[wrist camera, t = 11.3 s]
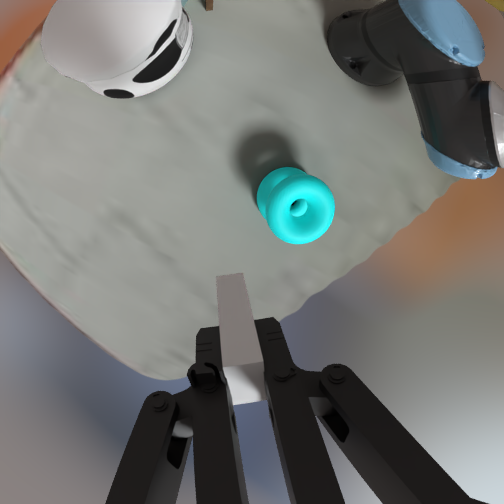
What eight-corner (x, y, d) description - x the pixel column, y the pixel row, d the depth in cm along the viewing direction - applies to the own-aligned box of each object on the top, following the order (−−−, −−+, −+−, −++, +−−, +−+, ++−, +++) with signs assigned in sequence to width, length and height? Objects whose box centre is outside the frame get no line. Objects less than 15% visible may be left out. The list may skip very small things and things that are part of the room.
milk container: (74, 58, 28) (14, 34, 12) (156, -8, 26) (135, -65, 10) (128, 123, 36) (78, 121, 20) (217, 54, 33) (223, 7, 17)
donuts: (278, 168, 33) (346, 186, 35) (263, 160, 42) (319, 173, 44) (260, 241, 37) (325, 251, 39) (249, 218, 46) (304, 227, 48)
